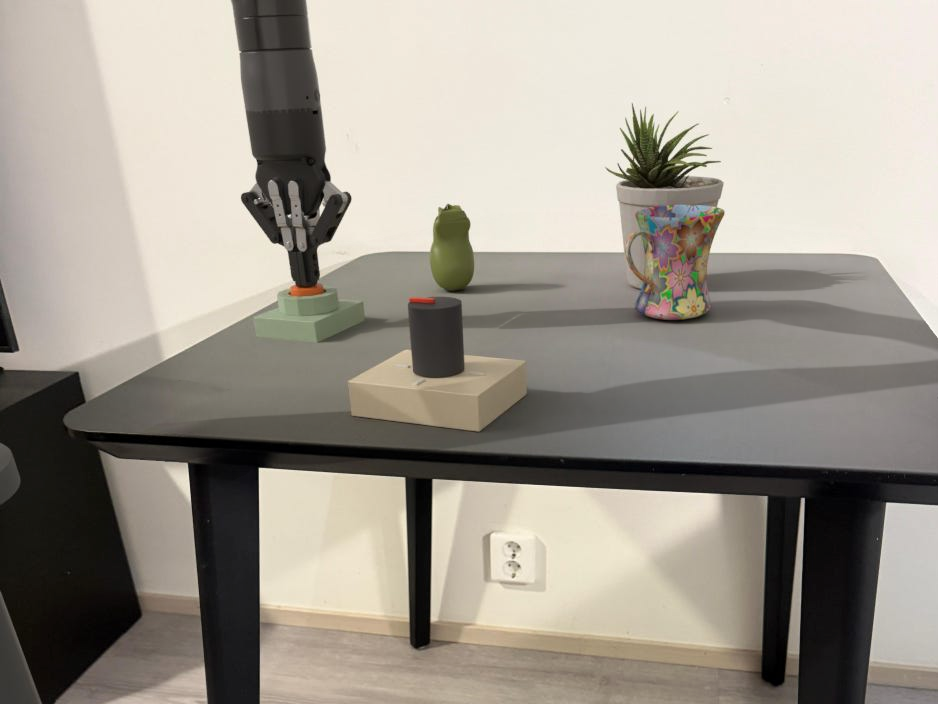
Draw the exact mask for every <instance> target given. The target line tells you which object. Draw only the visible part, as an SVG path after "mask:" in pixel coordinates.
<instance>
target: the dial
mask: <svg viewBox="0 0 938 704" xmlns="http://www.w3.org/2000/svg"><path fill="white" fill-rule="evenodd" d="M408 299H409V300H408V301H409V302H408V303H407V313H408V325H409V339H410V350H411V353H412V366H413V372H414V374H416V375H418V376H422V377H431V378H438V377H448V376H453V375H456V374H459V373H461V372H463V371H464V369H465V365H464V355H465V348H464V347H465V346H464V326H463V305H462V304H463V303H462V300H461V299H460V298H456V297H451V296H428V297H419V296H411V297H409V298H408Z"/></svg>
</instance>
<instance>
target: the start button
mask: <svg viewBox="0 0 938 704" xmlns="http://www.w3.org/2000/svg"><path fill="white" fill-rule="evenodd" d="M323 286H324V285H323V284H322V283H318V282H317V284H316V285H315V286H312V287H310V288H305V287H297V286H296V284H294V285H291V286H290V287H289V288H290V292H291V296H313V295H319V294H322V293H324V290H323Z"/></svg>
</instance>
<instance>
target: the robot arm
mask: <svg viewBox="0 0 938 704" xmlns="http://www.w3.org/2000/svg"><path fill="white" fill-rule="evenodd" d="M230 2H231V7H232V13H233V14H232V15H233V19H234V20H233V21H234V27H235V28H234V29H235V35H236V41H237V47H238V51H239V55H238V56H239V67H240V68H239V69H240V73H239V74H240V82H241V83H240V84H241V91H242V97H243V98H242V99H243V104H244V109H245V110H244V111H245V117H246V122H247V130H248V136H249V144H250V150H251V154H252V155H251V156H253V158H254V159H255V160H256V171H255V176H254V177H255V184H254V185H253V186H252V187H251V189H250V190H249V191H245V192H243V193H241V195H240V201H241V202H242V205H244V207H245V208H246V210H247V211H248V213H249V214H250V215H251V216H252V218H253V219H254V220H255V222H256V223H257V225H258V226H259V228H260V229H261V230H262V231H263V233H264V234H265V236H266V237H267V238H268V239H269V241H270V242H271V244H274V245H277V244H278V245H279V246H282V247H284V249H286V252H287V255H288V261H289V263H288V264H289V270H290V277H291V279H292V281H293V282H294V285H296V286H297V287H305V288H310V287H312V286H315V285H316V284H317V283H318V281H319V280H320V277H321V273H320V272H321V271H320V265H319V264H320V263H319V256H318V248H319V247H320V246H321V245H323V244H324V245H325V244H327V243H330V242H332V240H333V239H334V236H335V234H336V232H337V230H338V228H339V226H340V224H341V223H342V220H343V218H344V216H345V214H346V212H347V211H348V209H349V207H350V205H351V203H352V199H353V198H352V195H351V193H350V192H348V191H341V189H339V188H338V187H337V186H336V185H335V184H334V183H332V176H331V173H330V171H329V169H328V167H327V164H326V161H325V160H326V152H327V146H326V137H325V136H326V135H325V128H324V119H323V118H324V117H323V111H322V102H321V93H320V86H319V78H318V72H317V67H316V62H315V58H314V55H313V49H312V39H311V30H310V22H309V12H308V4H307V0H230ZM321 206H323V207H324V208H323V210H322V212H320V209H321V208H320V207H321Z"/></svg>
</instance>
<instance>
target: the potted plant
mask: <svg viewBox="0 0 938 704" xmlns="http://www.w3.org/2000/svg"><path fill="white" fill-rule="evenodd" d="M631 111H632V126H633V127H632V128H633V131H632V129H631V127H630V125H629V122H628V119H627V117H624V119H625V125H626V127H627V130H628V133H629V135H630V138H629V137H628V135H627V134H626V132H625V131H624V130H623V129H622V128H621V127H619V130H620V132H621V133H622V136H623V138H624V140H625V143H626V145H627V147H628V150H629V151H630V152H629V153H631V155H632V157H630V155H628V153H626V151H625V150H624V149H622V148H621V149H620V151H621V153H622V155H624V157H625V158H626V159H627V160H628V161H629V165H630V167H627V168H626V170H625V171H624V170H623V169H622V167H621V166H620V164H619V162H617V163H616V164H617V167H618V169H619V171H620V173H619V172H616V171H613V170H611V169H610V168H608V167H606V166H604V168H605V169H606V171H607V172H609V173H610V174H612V175H614V176H615V177H618V178H620V179H623V180H621V181H619V182H617V184H616V185H615V189H616V197H617V202H618V204H619V205H618V207H619V215H620V216H619V217H620V224H621V225H620V226H621V234H622V243H623V254H624V263H625V273H626V279H627V283H628V284H629V285H630V286H631V287H633V288H635V289H639V290H641V288H642V284H643V281H642V280H640V279H639V278H638V277H637V276H636V275H635V274H634V273H633V272H632V270H631V269H630V267H629V265H628V262H627V260H626V256H625V244H626V241H627V239H628V238H629V236H630V235H631V234H632V233H634V232H637V231H640V228H639V225H638V222H637V219H636V217H635V213H636V211H637V210H640V209H643V208H648V207H654V206H664V205H703V206H712V207H718V205H719V201H720V199H721V197H722V193H723V187H724V184H725V183H724V181H722V179H719V178H716V177H708V176H696V175H690V174H689V173H690V172H692V171H693V170H695V169H697V168H700V167H703V168H707V167H708V164H716V163H722V161H721V160H706V161H704V162H703V161H702V162H699V161H691V162H687V161H685V160H683V159H685V158H688V157H707V156H708V155H707V154H704V153H699V152H692V151H696V150H697V151H698V150H713V147H709V146H702V145H701V146H694V147H691V146H692V145H694V143H696V142H697V141H700V140H701V139H703V138H705V137H708V136H710V134H708V133H707V134H704V135H700V136H698V137H696V138H694V139H692V140H690V141H689V142H688V143H686V144H684V146H682V147H681V148H680V149H679V150H678V151H677V152H676V153H675V154H674V155H673V156H672V157H671V158H670V156H671V154H672V153H673V152H674V150H675V148H676V147H677V146H678V145H679V144H680V142H681V141H682V140H683V138H684V137H685V136H686V135H687V134H688V133H689V131H691V130H693V129H694V128H695V127H697V126H698V125H700V123H695V124H694V125H692V126H690V127H689V128H687V129H684V130H683V131H681V132H680V133H678V134H677V135H676V136H674V137H672V138H671V139H669V140H668V141H667V142H665V144H664V145H663V146H662V148H661V149H660V147H661V144H662V140H663V138H664V135H665V133H666V131H667V129H668V127H669V125H670V123H671V122H672V121H673V119H674V118H675V117H676V116H677V114H678V113H680V112H679V110H678V111H676V113H674V115H673V116H672V117H671V118H670V119H668V121H667V122H666V124H665V126H664V127H663V129H662V131H661V133H660V135H659V138H658V132H659V128H660V124H657V127H656V129H655V122H654V116H655V115H654V113H652V115H651V116H650V118H649V121H648V123H647V121H646V120H647V106H644V112H643V113H644V115H643V114H642V109H639V117H640V118H639V120H638V117H637V114H636V110H635V107H634V104H633V102H631ZM639 122H640V123H639ZM669 158H670V159H669ZM635 161H636V162H635ZM688 174H689V175H688ZM631 256H632V260H633V263H634V265H635V267H636V268H637V270H638V271H639V272H640V273H641V274H642V275H643V276H644V269H645V257H644V246H643V240H642V236H641V235H640V236H637V237H636V238H635V239H634V240H633V242H632V245H631Z"/></svg>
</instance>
